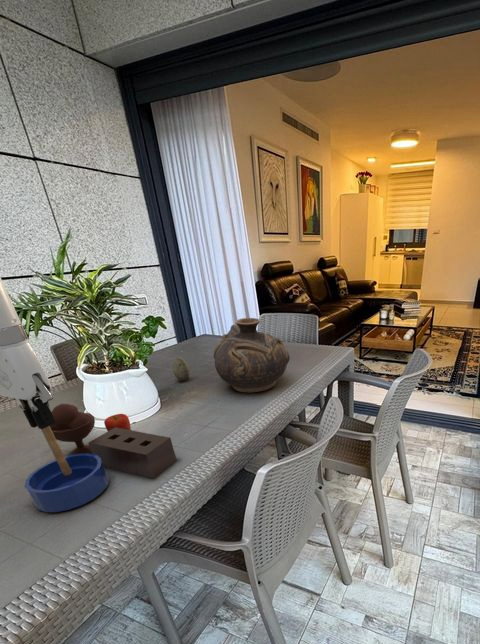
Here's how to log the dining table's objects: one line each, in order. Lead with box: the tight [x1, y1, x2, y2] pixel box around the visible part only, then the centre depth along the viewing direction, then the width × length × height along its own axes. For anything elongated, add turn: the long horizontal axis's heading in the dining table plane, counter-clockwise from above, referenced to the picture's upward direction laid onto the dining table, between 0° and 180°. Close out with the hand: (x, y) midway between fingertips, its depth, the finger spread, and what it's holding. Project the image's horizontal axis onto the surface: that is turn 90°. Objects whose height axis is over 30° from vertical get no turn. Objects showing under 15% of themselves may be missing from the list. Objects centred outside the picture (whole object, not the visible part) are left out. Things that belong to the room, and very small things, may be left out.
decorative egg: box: [172, 356, 191, 382], centre depth 141 cm, size 6×6×10 cm
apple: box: [103, 413, 132, 432], centre depth 101 cm, size 6×6×8 cm
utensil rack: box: [88, 427, 177, 479], centre depth 90 cm, size 19×8×7 cm, turn 70°
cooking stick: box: [28, 400, 72, 476], centre depth 75 cm, size 2×2×18 cm
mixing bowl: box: [24, 453, 110, 513], centre depth 80 cm, size 15×15×6 cm
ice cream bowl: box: [50, 403, 96, 455], centre depth 94 cm, size 11×11×15 cm
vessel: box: [213, 317, 291, 393], centre depth 131 cm, size 27×28×25 cm
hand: (43, 424), depth 73 cm, fingers closed on cooking stick, 1 cm apart
